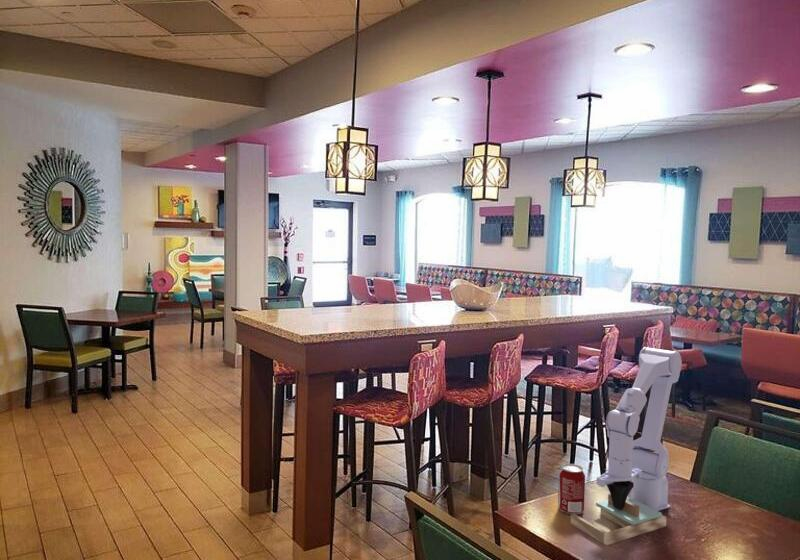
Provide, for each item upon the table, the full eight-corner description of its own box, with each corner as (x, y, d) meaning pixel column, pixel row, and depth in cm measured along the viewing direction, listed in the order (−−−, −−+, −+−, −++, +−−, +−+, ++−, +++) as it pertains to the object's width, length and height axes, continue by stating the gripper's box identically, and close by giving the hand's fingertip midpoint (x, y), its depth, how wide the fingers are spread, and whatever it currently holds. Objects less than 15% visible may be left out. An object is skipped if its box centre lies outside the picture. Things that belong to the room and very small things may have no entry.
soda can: (585, 517, 153) (586, 473, 152) (558, 514, 154) (560, 471, 154) (582, 506, 160) (584, 464, 159) (557, 503, 161) (558, 461, 160)
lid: (624, 497, 159) (624, 486, 159) (661, 516, 149) (662, 503, 149) (596, 505, 154) (596, 493, 154) (632, 525, 144) (633, 512, 144)
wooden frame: (624, 505, 161) (625, 496, 161) (666, 526, 149) (666, 516, 149) (567, 521, 151) (567, 512, 150) (606, 545, 139) (607, 535, 139)
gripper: (627, 447, 156) (625, 496, 157) (588, 456, 149) (586, 507, 150) (649, 456, 150) (647, 507, 150) (609, 465, 143) (607, 518, 144)
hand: (618, 508), depth 150 cm, fingers closed
